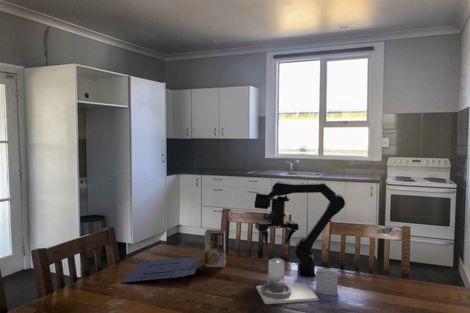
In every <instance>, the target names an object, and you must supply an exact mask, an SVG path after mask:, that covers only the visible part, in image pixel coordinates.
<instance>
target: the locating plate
mask: <svg viewBox="0 0 470 313" xmlns="http://www.w3.org/2000/svg"><path fill="white" fill-rule="evenodd" d="M255 287H256V290H257V292H258V294H259V296H260V297H261V299H262V301H263V303H264V304H265V305H274V304H287V303H289V304H290V303H291V304H292V303H301V302H302V303H303V302H314V301H315V302H318V301H319V297H318V296H317V295H316V293H314V291H313V290H312V289H311V288H310V287H309V286H308V285H307V284H306V283H305V282H300V283H299V282H297V283H296V282H295V283H284V288H286V289H287V292H286V293H283V294H273V293H269V292H267V291H266V288H267V287H268V282H267V283H264V284H262V285H256V286H255Z"/></svg>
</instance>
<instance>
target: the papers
mask: <svg viewBox="0 0 470 313" xmlns="http://www.w3.org/2000/svg"><path fill="white" fill-rule="evenodd" d="M201 258H202V257H178V258H177V257H176V258H168V259H156V260H150V261H144V262H143V261H142V262H141V261H140V262H138V263H137V264H136V266H135V267H134V268H133V269H132V271H130V273H129V274H128V275H127V276H126V277H125V278H124V279H123V280H122V281H121V283H122V284H123V283H132V282H139V281H149V280H150V281H151V280H160V279H171V278H172V279H173V278H179V277H181V278H182V277H186V276H190V275H195V273H196V271H197V268H198V265H199V263H200V261H201Z"/></svg>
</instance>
